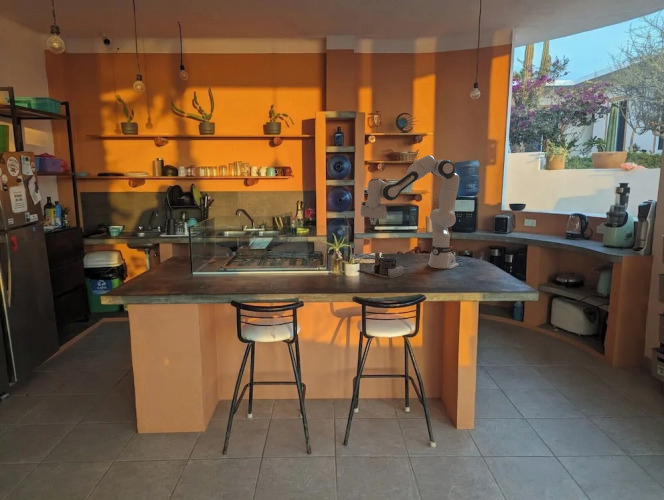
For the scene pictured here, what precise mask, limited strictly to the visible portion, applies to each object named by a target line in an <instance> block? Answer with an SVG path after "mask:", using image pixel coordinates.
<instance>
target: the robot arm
mask: <svg viewBox="0 0 664 500" xmlns="http://www.w3.org/2000/svg"><path fill="white" fill-rule="evenodd" d="M454 164H455V163H453V161H452V160H449V159H438V160H437V159H435V157H434V156H433V155H429V154H428V155H424V156H423V157H421V158H419V159H417V160H415V162H413V163H411V165H410V166H408V168H407V169H406V170H407V171H406V174H405V175H404V177H401V179H399V180H398V181H396V182H395V183H388V182H385V181H383V180H382V179H381V178H378V177H377V178H371V179H370V180H369V181H368V184H367V198H366V199H367V200H365V201H361V207H360V216H361V217H365V218H369V221H370V225H371V226H372V225H374V226H375V225H376V223H377V221H378V219H379V220H385V219H387V216H388V213H387V206H386V205H385V204H381V202H382V201H381V200H382V198H383V199H385V200H387V201H395V200H396V199H398V197H399V195H400V194H401V192H402V191H404V190H406V189H407V187H409V186H410V185H412V184H414V183H415V182H417V181H418V180H420V179H422V178H424V177H425V176H426V175H428V174H430V173H431V174H432V175H433V176H435V177H438V178H441V179H442V183H441V187H440V191H439V195H438V202H439V204H438V205H439V208H435V209H433V210H432V211H431V212H430V214H429V219H430V221H431V228H432V245H431V252H430V253H429V254H430V255H429V259H428V260H429V261H428V262H427V265H428V266H429V267H430V268H435V269H450V270H451V269H454V268H456V267H458V266H459V263H458V262H456V256H455V255H454V253H452V252H451V250H453V246H450V238H451V234H450V233H449V228H450V227H453V226H454V225H455V223H456V221H457V218H456V217H457V216H456V213H455V212H456V199H457V196H458V192H459V187H460V175H459V174H457V173H456V169H455V165H454Z"/></svg>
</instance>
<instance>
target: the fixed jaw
mask: <svg viewBox="0 0 664 500" xmlns="http://www.w3.org/2000/svg"><path fill="white" fill-rule="evenodd" d="M359 272H361V273H365V274H368V275H372V276H375V277H379V278H384V279H394V278H397V277H402V276H403V275H404V274H405V272H404V266H401V265H400V266H396V267H395V268H391V269H388V276H384V275H379V273H372V271H371V272H370V271H367V270H363V269H360V271H359Z"/></svg>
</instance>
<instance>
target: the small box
mask: <svg viewBox="0 0 664 500" xmlns="http://www.w3.org/2000/svg"><path fill="white" fill-rule="evenodd" d="M395 267H397V257H379V273H378V274H379V275H383V276H387V277H388V269H391V268H395Z"/></svg>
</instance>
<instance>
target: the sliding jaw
mask: <svg viewBox="0 0 664 500" xmlns="http://www.w3.org/2000/svg"><path fill="white" fill-rule="evenodd" d="M379 258H380V252H374V264H371V272H372V273H375V274H379Z"/></svg>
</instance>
